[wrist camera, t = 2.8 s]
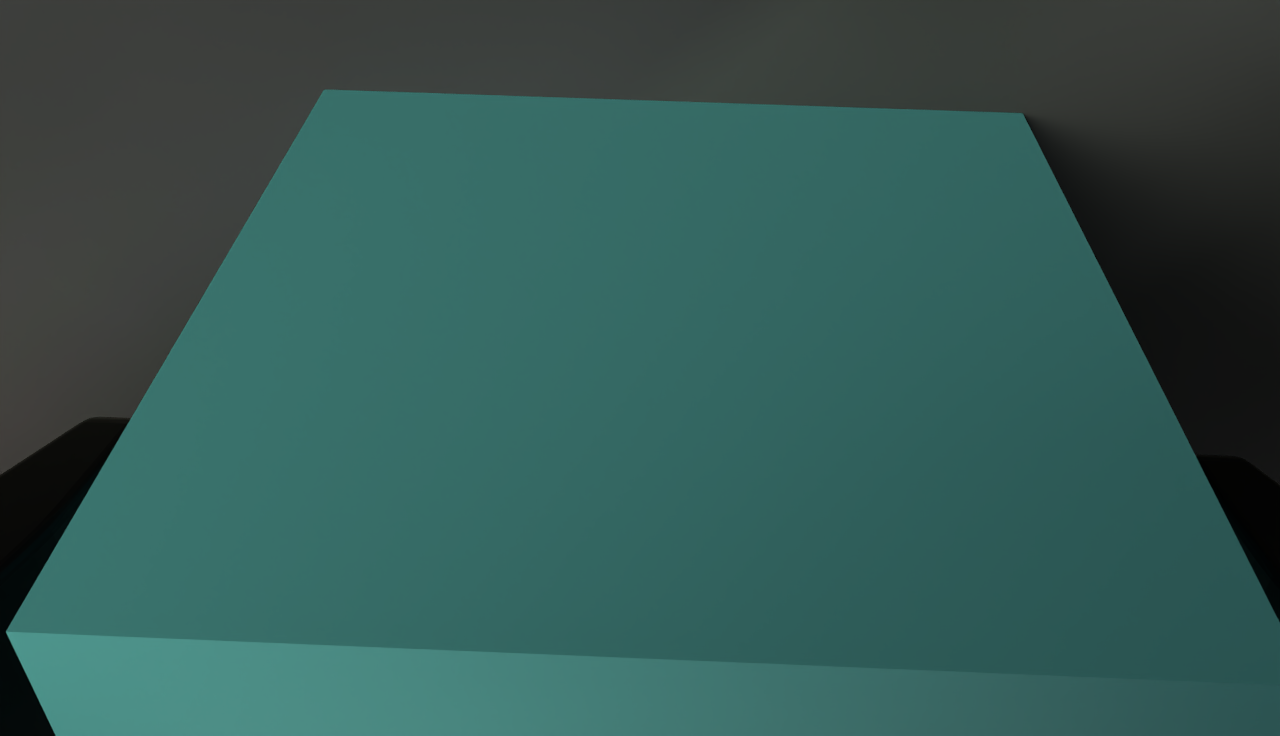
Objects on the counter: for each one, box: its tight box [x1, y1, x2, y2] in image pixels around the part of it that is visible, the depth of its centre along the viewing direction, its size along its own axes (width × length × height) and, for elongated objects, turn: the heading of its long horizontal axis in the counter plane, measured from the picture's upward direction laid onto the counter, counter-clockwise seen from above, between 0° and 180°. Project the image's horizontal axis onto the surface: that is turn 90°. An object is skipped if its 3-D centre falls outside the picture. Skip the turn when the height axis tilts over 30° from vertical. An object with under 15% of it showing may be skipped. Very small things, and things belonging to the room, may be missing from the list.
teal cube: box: [6, 90, 1280, 736], centre depth 8 cm, size 5×5×5 cm
